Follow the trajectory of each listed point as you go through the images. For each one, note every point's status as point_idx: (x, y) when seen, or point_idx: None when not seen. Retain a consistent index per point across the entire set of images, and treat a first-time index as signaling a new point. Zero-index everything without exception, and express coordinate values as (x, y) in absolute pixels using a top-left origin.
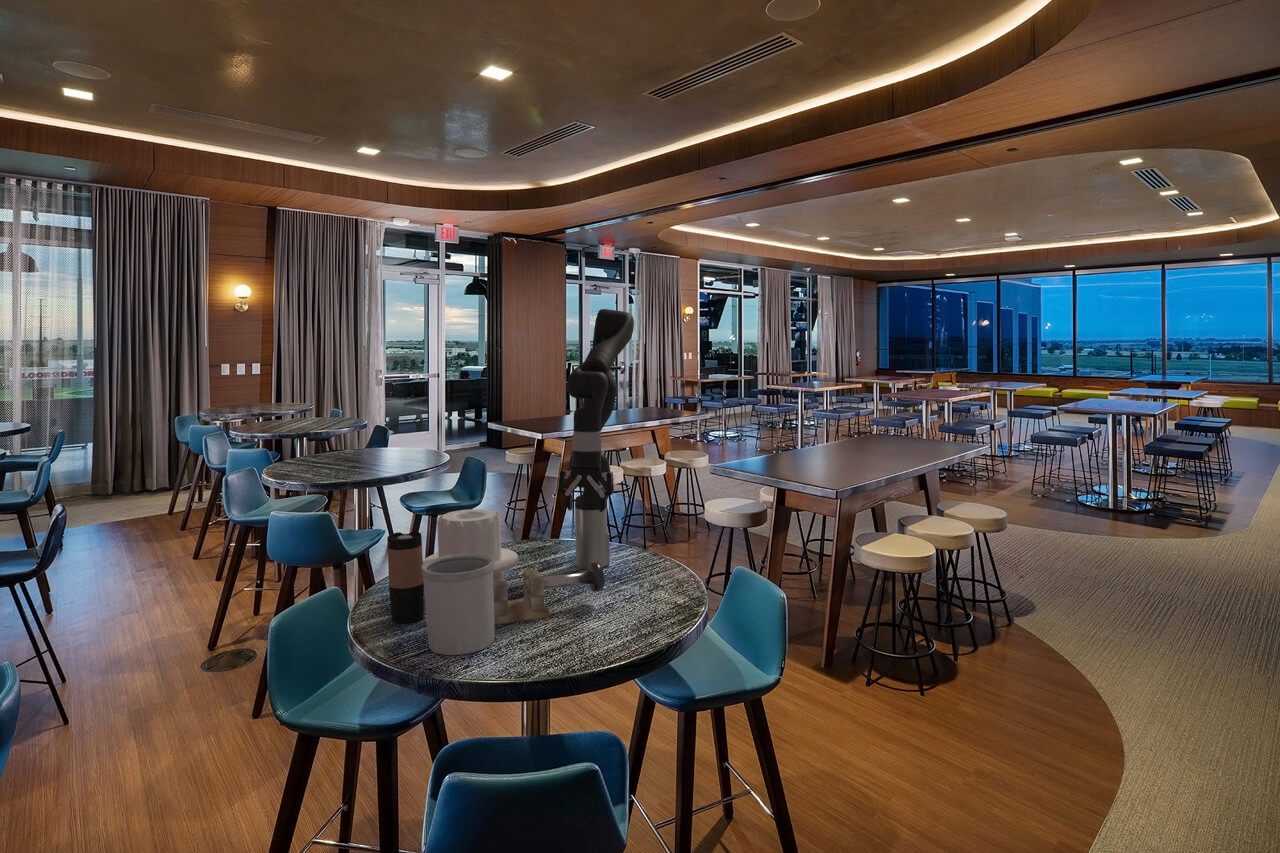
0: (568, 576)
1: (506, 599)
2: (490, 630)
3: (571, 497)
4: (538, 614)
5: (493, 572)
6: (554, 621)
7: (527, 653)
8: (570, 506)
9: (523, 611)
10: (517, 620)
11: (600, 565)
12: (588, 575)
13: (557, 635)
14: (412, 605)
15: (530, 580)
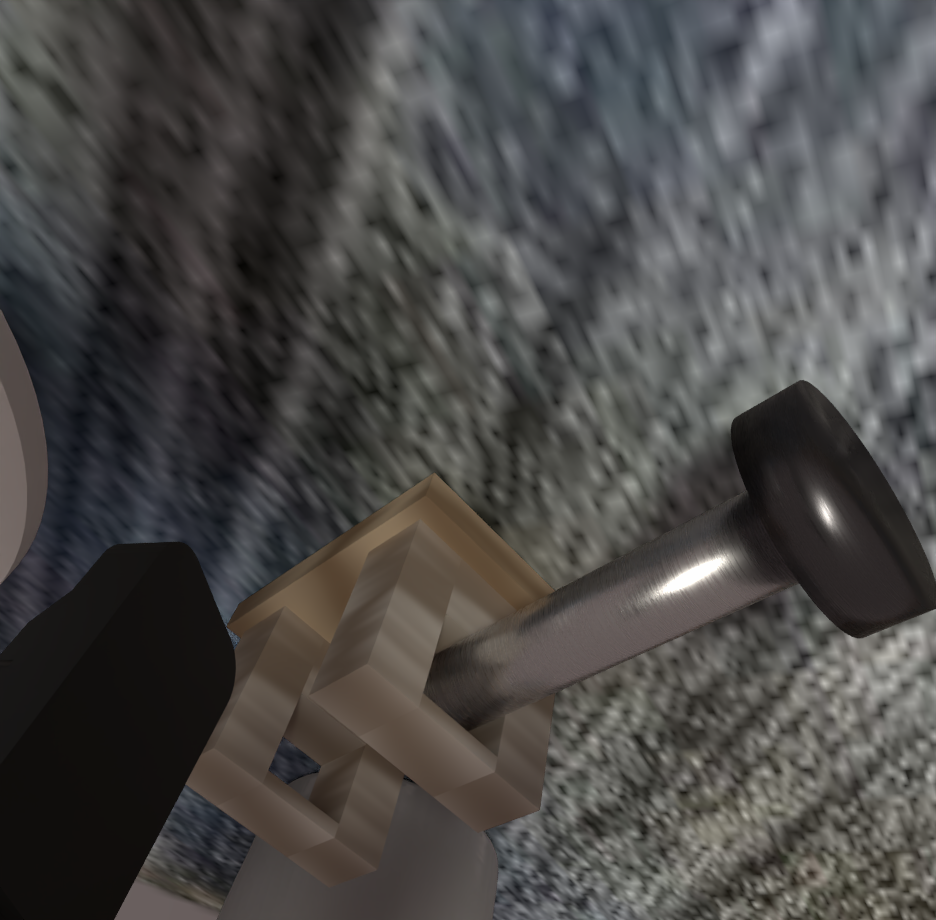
0: (641, 650)
1: (396, 792)
2: (491, 915)
3: (52, 872)
4: None
5: (32, 527)
6: (644, 666)
7: (666, 888)
8: (202, 732)
9: None
10: None
11: (915, 607)
12: (789, 586)
13: (723, 777)
14: None
15: (467, 820)
